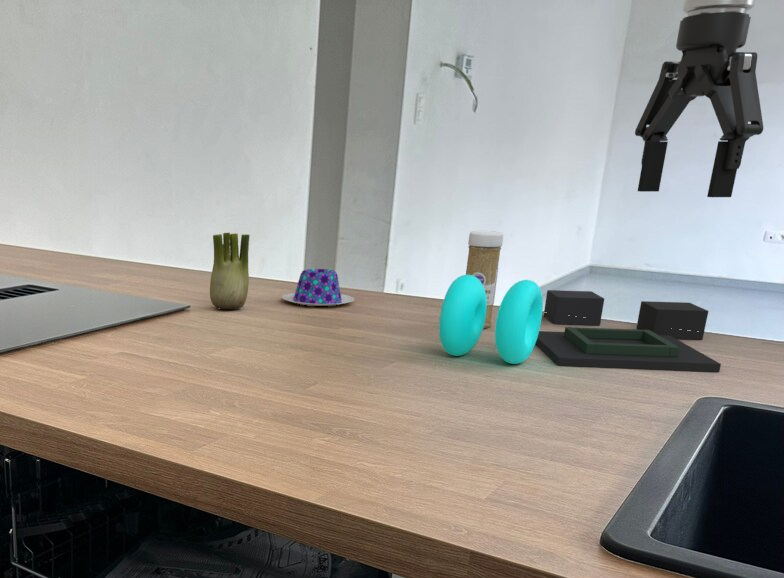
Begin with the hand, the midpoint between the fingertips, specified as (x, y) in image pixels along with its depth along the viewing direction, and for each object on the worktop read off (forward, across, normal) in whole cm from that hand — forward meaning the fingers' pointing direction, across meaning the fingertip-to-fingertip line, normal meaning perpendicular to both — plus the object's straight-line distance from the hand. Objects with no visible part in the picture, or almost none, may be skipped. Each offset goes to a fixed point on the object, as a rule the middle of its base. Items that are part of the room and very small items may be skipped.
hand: (681, 194), depth 113 cm
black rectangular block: (+19, -1, +3) cm, 19 cm away
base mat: (+19, +9, -12) cm, 24 cm away
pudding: (+19, -32, -39) cm, 54 cm away
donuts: (+19, +10, -30) cm, 37 cm away
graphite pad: (+19, -12, -5) cm, 23 cm away
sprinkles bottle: (+19, -10, -22) cm, 30 cm away
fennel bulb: (+19, -28, -55) cm, 64 cm away
